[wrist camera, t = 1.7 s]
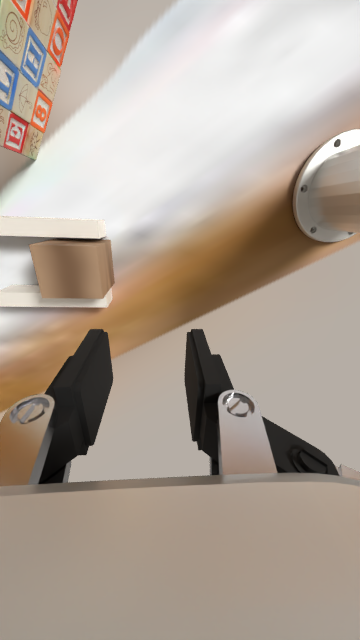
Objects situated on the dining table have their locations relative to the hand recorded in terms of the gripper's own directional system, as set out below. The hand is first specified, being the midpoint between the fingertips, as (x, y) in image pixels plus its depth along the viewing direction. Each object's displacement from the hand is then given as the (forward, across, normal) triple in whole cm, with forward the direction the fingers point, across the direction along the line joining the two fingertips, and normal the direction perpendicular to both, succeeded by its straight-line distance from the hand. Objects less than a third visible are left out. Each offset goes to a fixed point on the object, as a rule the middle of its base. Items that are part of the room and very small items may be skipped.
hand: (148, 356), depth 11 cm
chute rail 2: (+23, +14, +4) cm, 28 cm away
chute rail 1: (+23, +14, -4) cm, 28 cm away
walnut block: (+23, +10, 0) cm, 25 cm away
